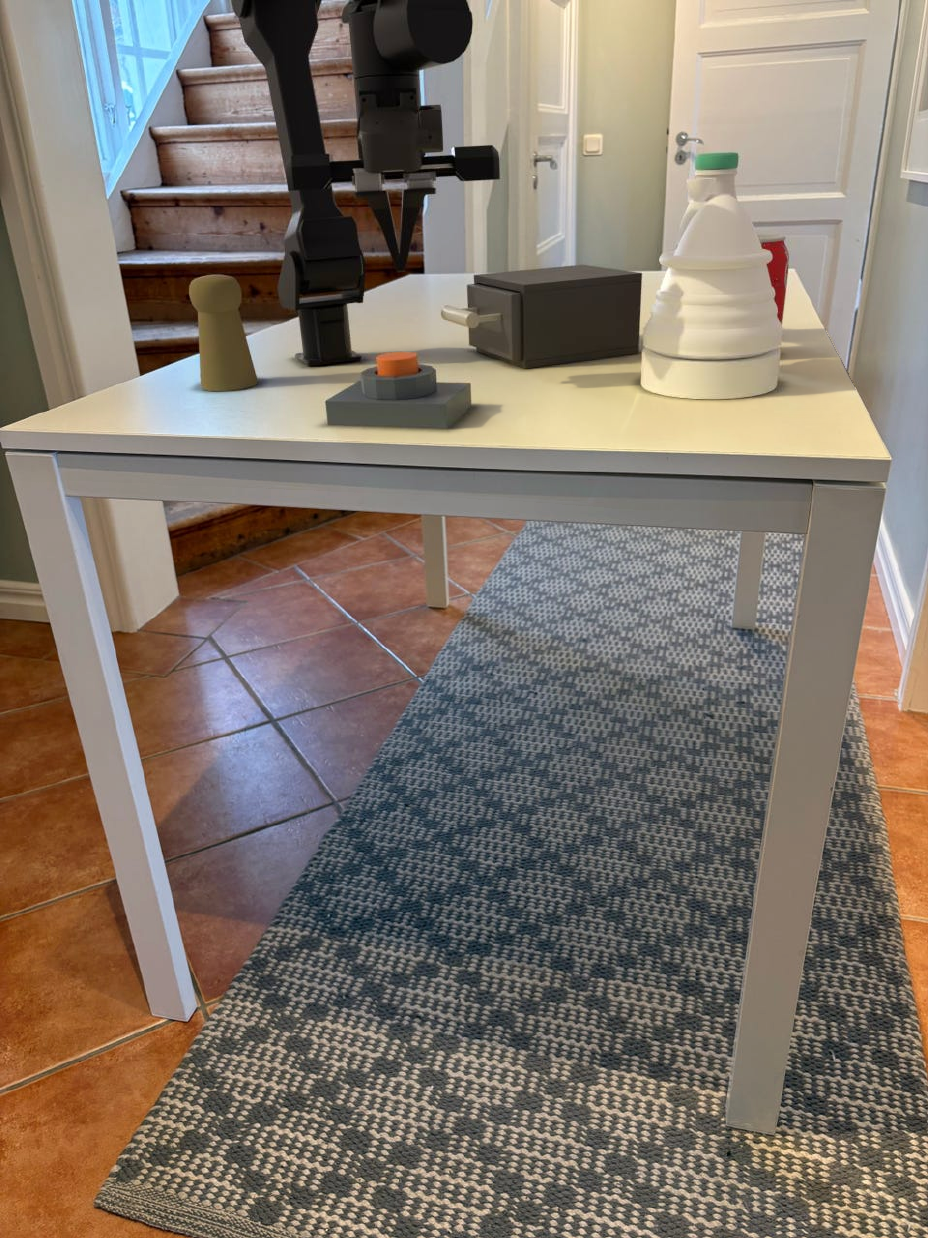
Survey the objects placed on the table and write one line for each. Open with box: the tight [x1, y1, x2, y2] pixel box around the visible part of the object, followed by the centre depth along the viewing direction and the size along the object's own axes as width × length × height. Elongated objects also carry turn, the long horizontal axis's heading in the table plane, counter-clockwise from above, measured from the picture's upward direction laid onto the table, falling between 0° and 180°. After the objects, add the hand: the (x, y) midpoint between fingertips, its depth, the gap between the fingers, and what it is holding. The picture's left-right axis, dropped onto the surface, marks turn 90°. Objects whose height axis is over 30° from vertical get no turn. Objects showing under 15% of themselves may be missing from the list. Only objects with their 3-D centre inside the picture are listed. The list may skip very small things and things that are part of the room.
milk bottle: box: [675, 151, 740, 249], centre depth 103 cm, size 8×8×20 cm
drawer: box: [440, 283, 522, 361], centre depth 101 cm, size 18×11×7 cm, turn 114°
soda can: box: [757, 234, 790, 326], centre depth 96 cm, size 7×7×12 cm
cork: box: [188, 274, 259, 392], centre depth 94 cm, size 6×6×11 cm
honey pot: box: [639, 178, 784, 400], centre depth 83 cm, size 13×13×18 cm
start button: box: [375, 351, 419, 376], centre depth 79 cm, size 4×4×2 cm
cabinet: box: [473, 264, 643, 370], centre depth 103 cm, size 15×13×9 cm
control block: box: [324, 363, 472, 430], centre depth 80 cm, size 11×8×4 cm
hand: (401, 271), depth 84 cm, fingers closed
